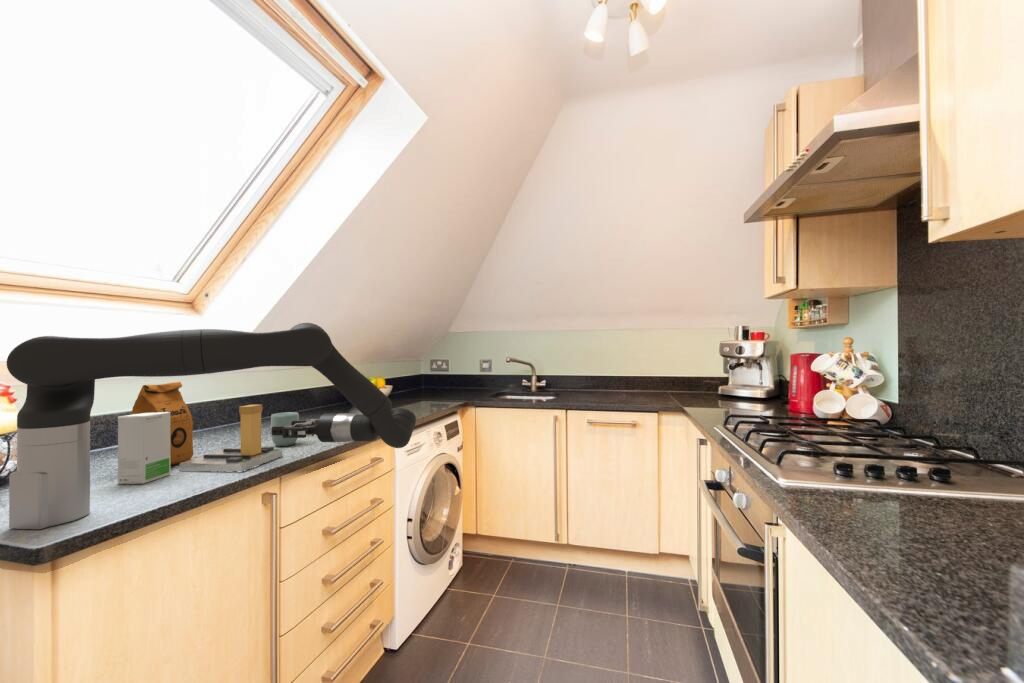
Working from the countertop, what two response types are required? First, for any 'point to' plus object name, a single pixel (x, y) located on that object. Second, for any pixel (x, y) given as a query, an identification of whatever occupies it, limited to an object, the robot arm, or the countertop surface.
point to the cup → (283, 420)
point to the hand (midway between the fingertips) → (282, 427)
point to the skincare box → (143, 447)
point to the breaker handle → (250, 429)
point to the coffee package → (180, 416)
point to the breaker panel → (230, 460)
